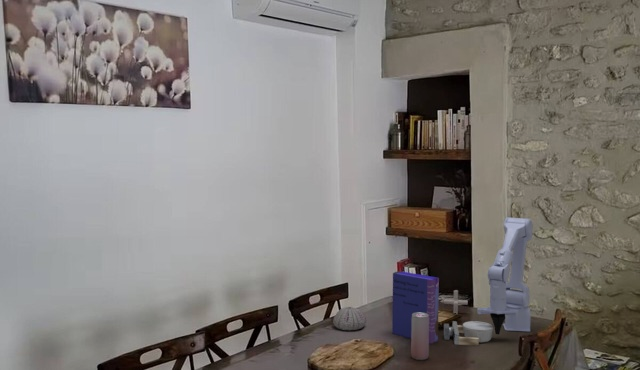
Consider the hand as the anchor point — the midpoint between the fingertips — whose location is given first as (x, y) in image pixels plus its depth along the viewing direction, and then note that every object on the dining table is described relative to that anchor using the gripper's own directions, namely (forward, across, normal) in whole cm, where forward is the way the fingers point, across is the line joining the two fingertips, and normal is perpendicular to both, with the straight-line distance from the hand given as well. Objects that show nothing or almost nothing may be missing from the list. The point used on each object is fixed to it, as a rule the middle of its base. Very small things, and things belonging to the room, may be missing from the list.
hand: (497, 333), depth 230 cm
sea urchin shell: (+3, -56, +7) cm, 57 cm away
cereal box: (+3, -30, -2) cm, 31 cm away
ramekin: (+3, -7, 0) cm, 7 cm away
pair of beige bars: (+2, -10, 0) cm, 11 cm away
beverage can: (+3, -29, -24) cm, 37 cm away
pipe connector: (+3, -13, +34) cm, 37 cm away
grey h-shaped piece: (+2, -17, 0) cm, 17 cm away
